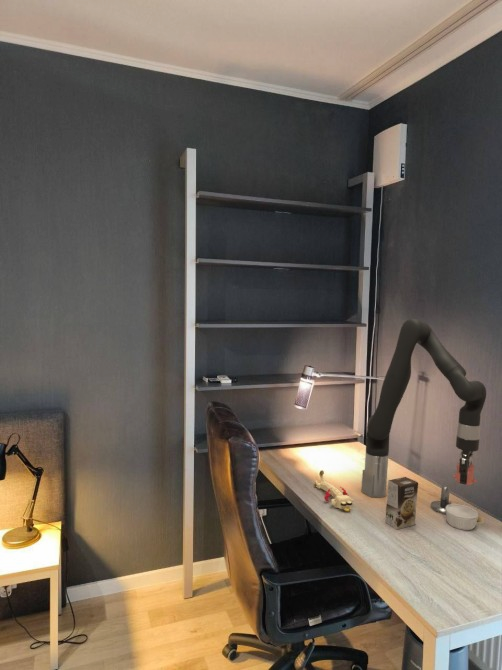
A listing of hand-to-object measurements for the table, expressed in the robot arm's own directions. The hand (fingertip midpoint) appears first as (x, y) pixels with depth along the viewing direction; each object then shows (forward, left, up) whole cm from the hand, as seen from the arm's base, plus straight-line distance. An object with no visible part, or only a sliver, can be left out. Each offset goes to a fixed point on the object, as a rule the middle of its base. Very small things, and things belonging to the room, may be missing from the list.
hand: (464, 480), depth 170 cm
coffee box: (-21, +9, -17) cm, 28 cm away
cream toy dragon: (-32, +35, -17) cm, 50 cm away
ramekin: (0, 0, -17) cm, 17 cm away
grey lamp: (+4, +11, -16) cm, 20 cm away
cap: (0, 0, 0) cm, 0 cm away
